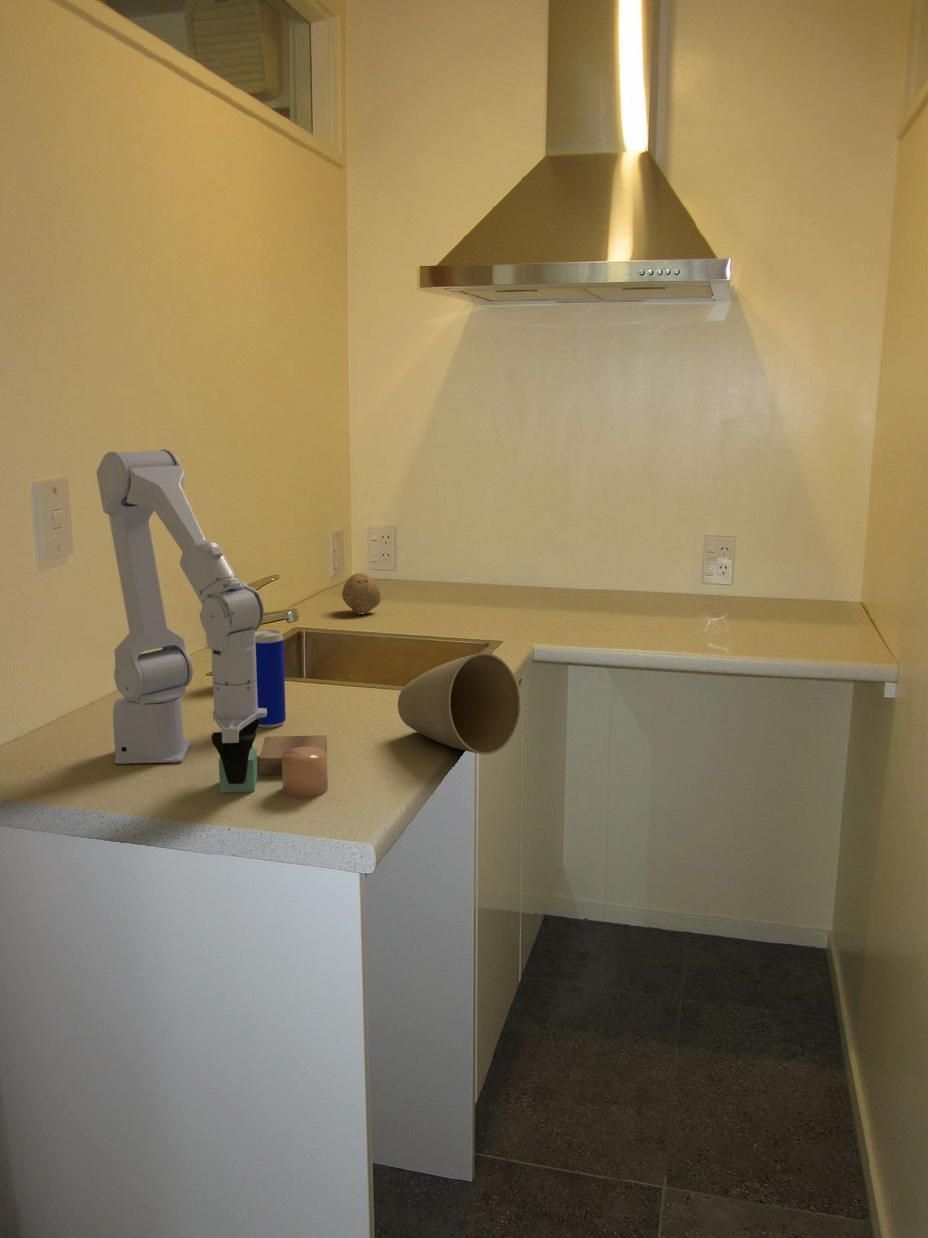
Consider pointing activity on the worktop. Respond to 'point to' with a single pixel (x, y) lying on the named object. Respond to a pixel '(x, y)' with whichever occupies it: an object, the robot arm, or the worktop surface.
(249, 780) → the cube
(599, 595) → the worktop surface
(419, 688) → the plant pot
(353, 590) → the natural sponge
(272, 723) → the beverage can
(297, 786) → the rounded knob
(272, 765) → the base
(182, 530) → the robot arm
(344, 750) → the worktop surface
